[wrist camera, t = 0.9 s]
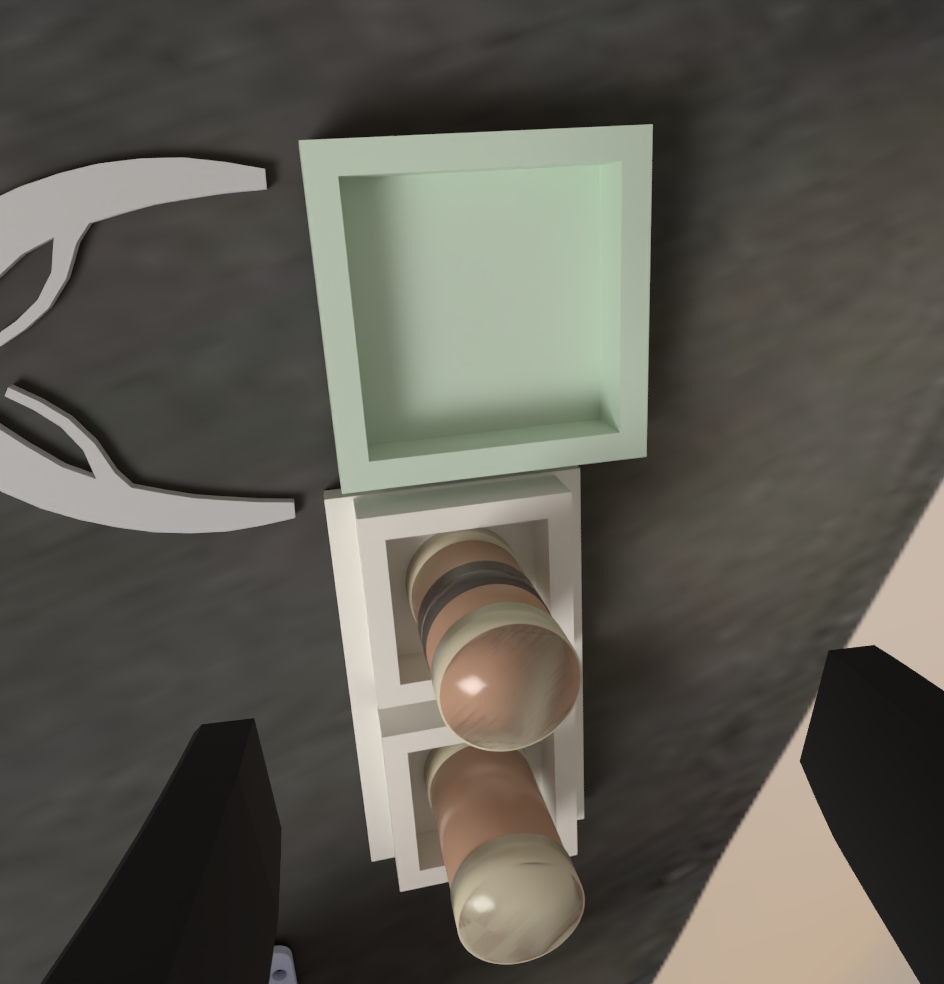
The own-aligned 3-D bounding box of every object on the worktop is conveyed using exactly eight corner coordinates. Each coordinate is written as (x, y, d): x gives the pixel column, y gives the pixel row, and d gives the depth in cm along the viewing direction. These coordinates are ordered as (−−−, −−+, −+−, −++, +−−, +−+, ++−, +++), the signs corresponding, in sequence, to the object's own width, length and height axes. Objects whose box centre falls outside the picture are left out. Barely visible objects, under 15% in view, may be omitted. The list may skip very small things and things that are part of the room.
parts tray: (617, 436, 24) (646, 456, 22) (338, 469, 23) (341, 493, 21) (619, 133, 21) (652, 124, 19) (299, 148, 20) (298, 140, 18)
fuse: (527, 799, 27) (585, 947, 22) (428, 818, 27) (461, 976, 21) (523, 714, 26) (584, 848, 20) (419, 732, 25) (452, 876, 20)
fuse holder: (576, 803, 29) (599, 852, 27) (369, 844, 28) (375, 899, 25) (571, 460, 24) (599, 485, 22) (323, 490, 23) (326, 520, 21)
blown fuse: (520, 621, 25) (583, 737, 19) (410, 638, 24) (443, 763, 19) (515, 518, 24) (581, 611, 18) (400, 534, 23) (432, 634, 18)
